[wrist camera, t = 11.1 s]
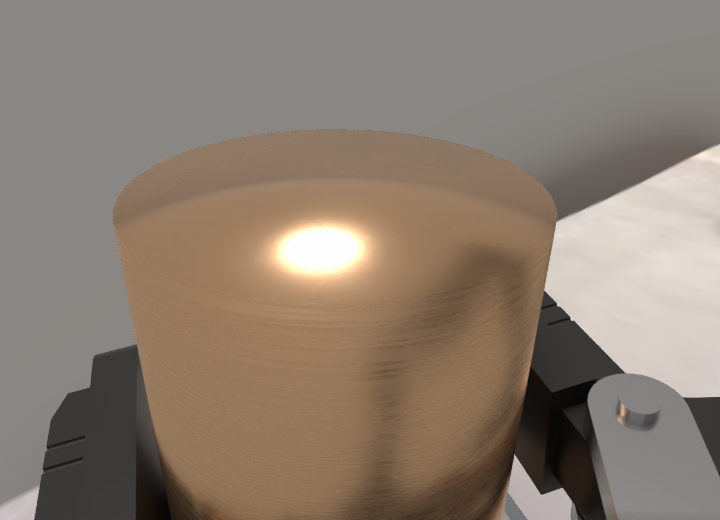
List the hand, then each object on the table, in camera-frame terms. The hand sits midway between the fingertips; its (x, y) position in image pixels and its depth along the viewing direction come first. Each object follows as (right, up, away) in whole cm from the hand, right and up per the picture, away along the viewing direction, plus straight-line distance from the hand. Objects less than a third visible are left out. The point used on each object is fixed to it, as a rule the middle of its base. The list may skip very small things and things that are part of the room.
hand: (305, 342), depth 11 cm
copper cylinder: (+1, -7, +2) cm, 8 cm away
